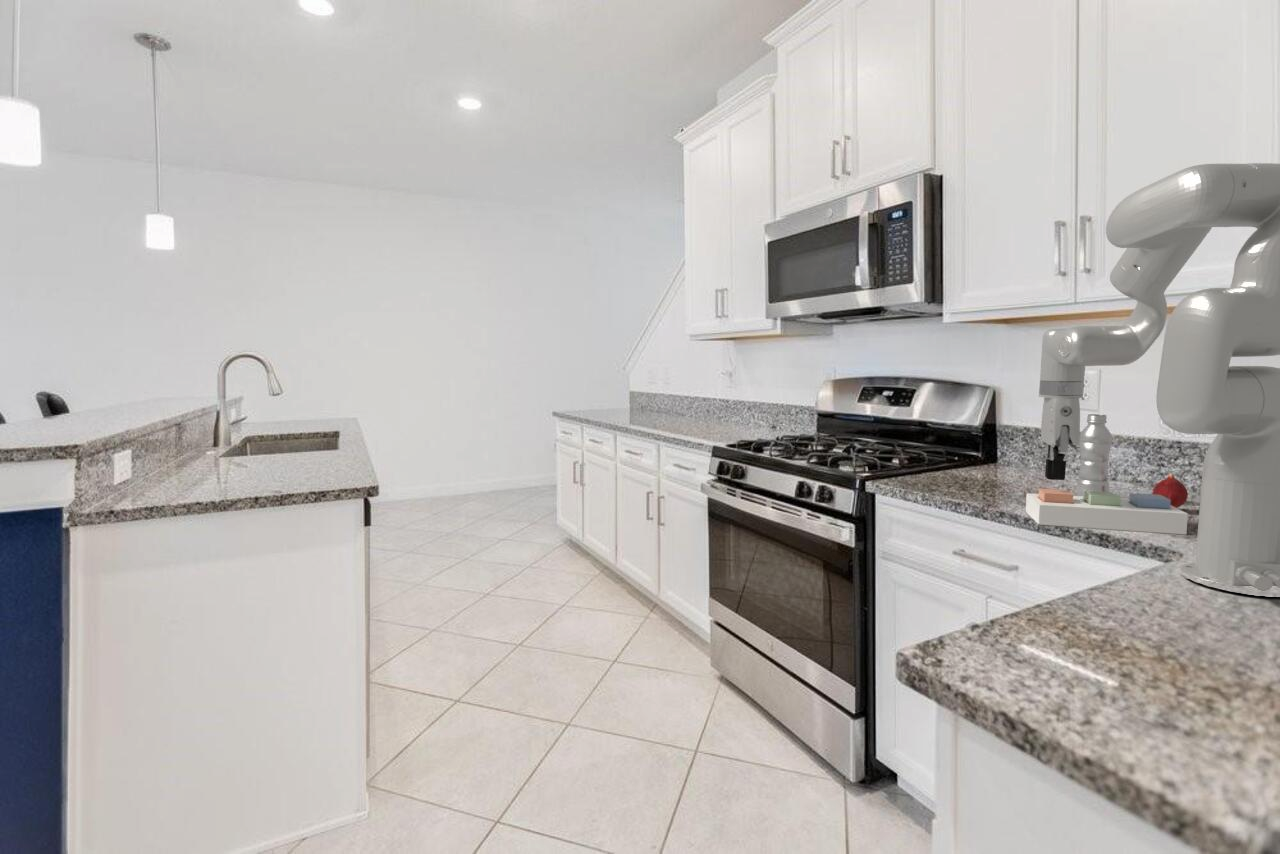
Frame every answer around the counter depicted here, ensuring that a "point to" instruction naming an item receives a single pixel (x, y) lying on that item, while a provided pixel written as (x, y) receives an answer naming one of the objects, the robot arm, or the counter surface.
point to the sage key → (1101, 498)
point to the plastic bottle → (1094, 455)
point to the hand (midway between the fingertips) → (1054, 478)
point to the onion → (1172, 491)
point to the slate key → (1149, 501)
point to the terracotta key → (1055, 496)
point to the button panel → (1107, 516)
